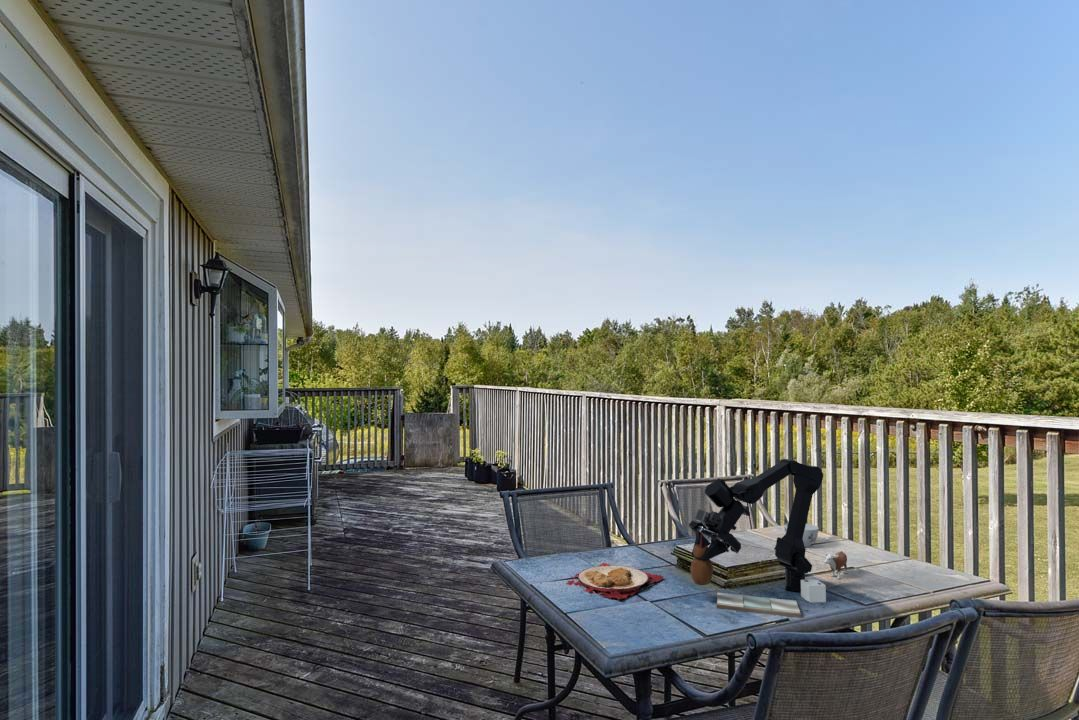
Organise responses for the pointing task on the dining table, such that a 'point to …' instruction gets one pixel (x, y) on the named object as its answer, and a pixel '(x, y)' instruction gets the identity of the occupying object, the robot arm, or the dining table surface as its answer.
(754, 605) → the board
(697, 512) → the robot arm
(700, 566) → the wooden figurine
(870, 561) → the dining table surface
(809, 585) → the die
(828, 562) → the bull figurine
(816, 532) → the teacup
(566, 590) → the dining table surface
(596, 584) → the plate with food
